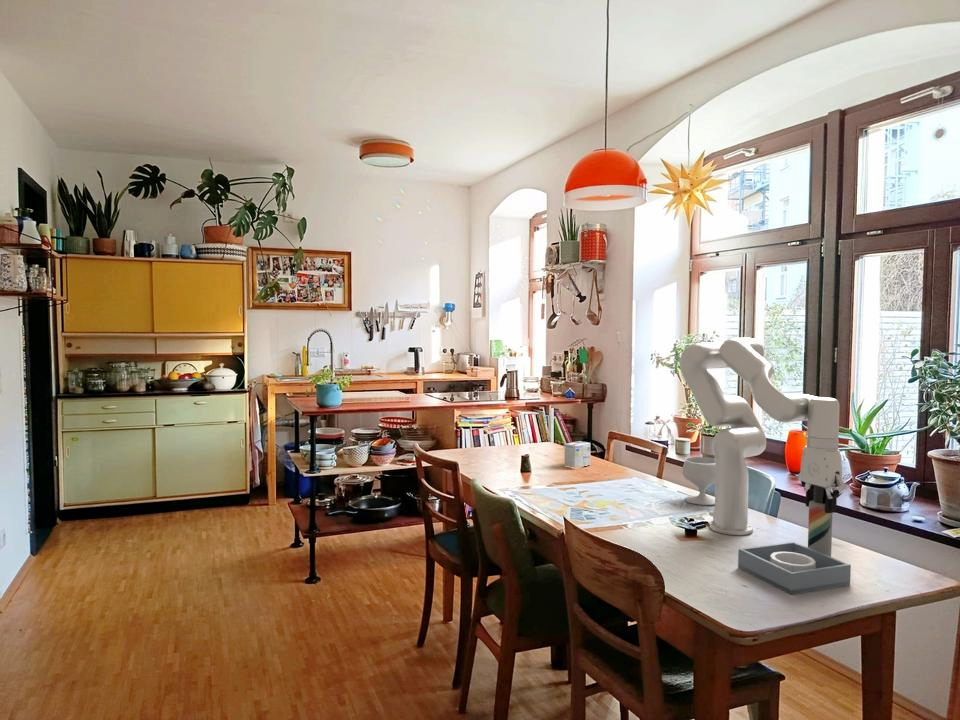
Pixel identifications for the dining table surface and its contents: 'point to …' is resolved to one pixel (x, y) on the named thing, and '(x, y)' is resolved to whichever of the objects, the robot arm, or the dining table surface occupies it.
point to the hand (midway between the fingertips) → (820, 508)
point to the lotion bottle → (819, 523)
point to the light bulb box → (577, 454)
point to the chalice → (700, 478)
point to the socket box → (794, 567)
